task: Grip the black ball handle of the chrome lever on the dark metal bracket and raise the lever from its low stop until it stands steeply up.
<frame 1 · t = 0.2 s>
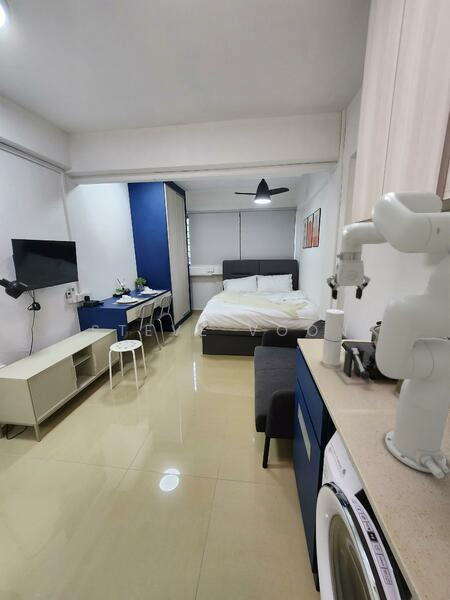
hand: (346, 298, 100), 31 cm above the worktop, tool pointing down, fingers open, 9 cm apart
lever: (359, 363, 92), point 8 cm above the worktop, hinge at -30.0°
cork: (404, 395, 86), on the worktop
bracket: (351, 377, 98), on the worktop
cylindrical container: (330, 364, 109), on the worktop
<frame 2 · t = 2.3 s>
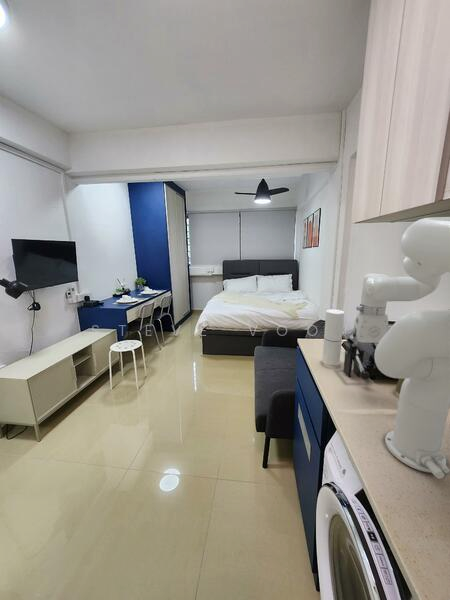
hand: (366, 355, 87), 14 cm above the worktop, tool pointing down, fingers open, 9 cm apart
nothing on the worktop moved.
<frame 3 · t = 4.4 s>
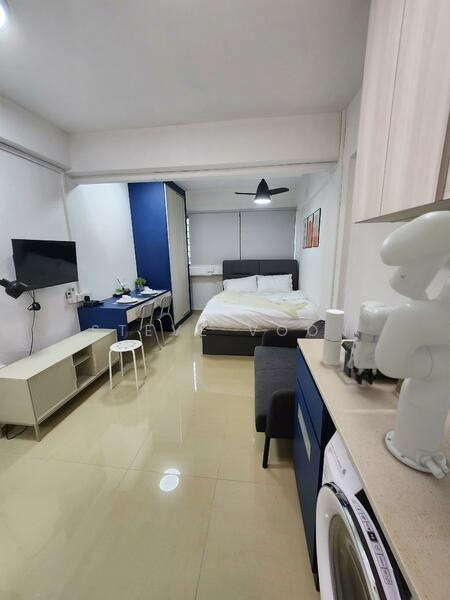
hand: (363, 382, 89), 3 cm above the worktop, tool pointing down, fingers closed on lever, 3 cm apart
lever: (359, 363, 92), point 8 cm above the worktop, hinge at -30.0°, touching gripper
everything else where it was.
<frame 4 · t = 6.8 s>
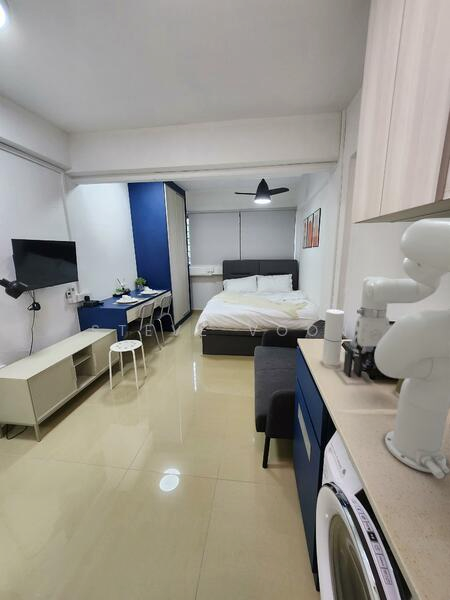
hand: (368, 362, 86), 12 cm above the worktop, tool pointing down, fingers closed on lever, 3 cm apart
lever: (361, 354, 91), point 13 cm above the worktop, hinge at 19.8°, touching gripper
everything else where it was.
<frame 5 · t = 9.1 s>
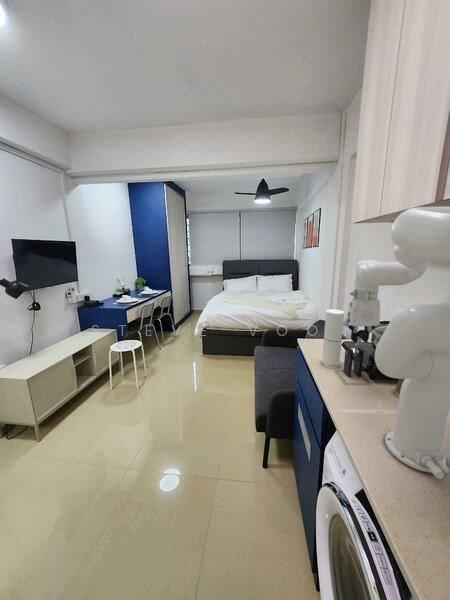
hand: (359, 340, 92), 17 cm above the worktop, tool pointing down, fingers closed on lever, 3 cm apart
lever: (357, 343, 93), point 16 cm above the worktop, hinge at 68.5°, touching gripper
everything else where it was.
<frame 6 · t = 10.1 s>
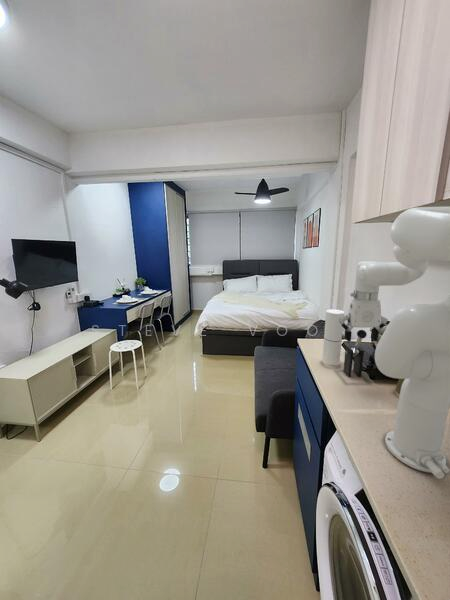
hand: (360, 340, 91), 18 cm above the worktop, tool pointing down, fingers open, 9 cm apart
lever: (357, 343, 93), point 16 cm above the worktop, hinge at 68.4°
everything else where it was.
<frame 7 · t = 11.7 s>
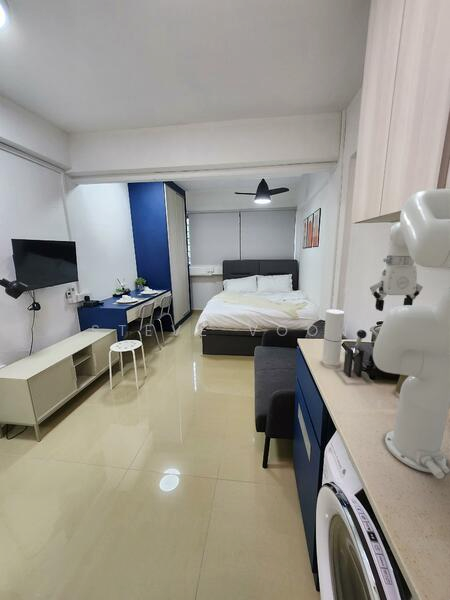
hand: (392, 309, 85), 30 cm above the worktop, tool pointing down, fingers open, 9 cm apart
nothing on the worktop moved.
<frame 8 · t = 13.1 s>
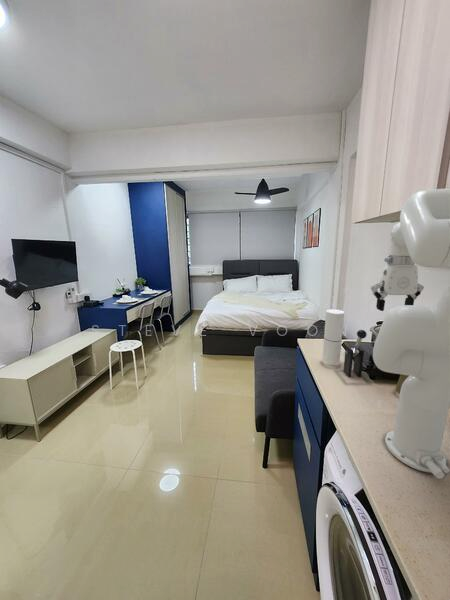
hand: (393, 309, 85), 30 cm above the worktop, tool pointing down, fingers open, 9 cm apart
nothing on the worktop moved.
at the end: lever at +68° (first picture: -30°); lever reached +68° during the clip, +68° at the end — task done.
